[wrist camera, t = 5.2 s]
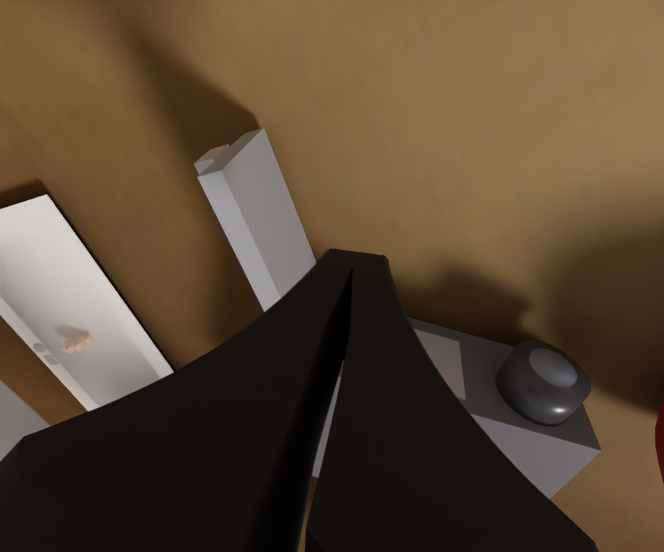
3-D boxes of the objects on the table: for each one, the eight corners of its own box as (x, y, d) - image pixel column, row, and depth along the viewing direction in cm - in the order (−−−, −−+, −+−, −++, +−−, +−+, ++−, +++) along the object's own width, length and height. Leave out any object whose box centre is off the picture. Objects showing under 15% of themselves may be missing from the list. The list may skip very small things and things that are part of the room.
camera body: (497, 445, 24) (515, 546, 20) (289, 386, 24) (262, 475, 20) (588, 335, 19) (638, 438, 15) (323, 259, 19) (297, 341, 15)
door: (331, 287, 20) (312, 360, 16) (299, 292, 20) (272, 365, 16) (268, 120, 16) (222, 165, 12) (229, 132, 16) (174, 179, 13)
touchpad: (63, 184, 19) (28, 205, 18) (215, 406, 27) (201, 436, 25) (-55, 222, 22) (-96, 244, 20) (115, 416, 29) (96, 445, 27)
